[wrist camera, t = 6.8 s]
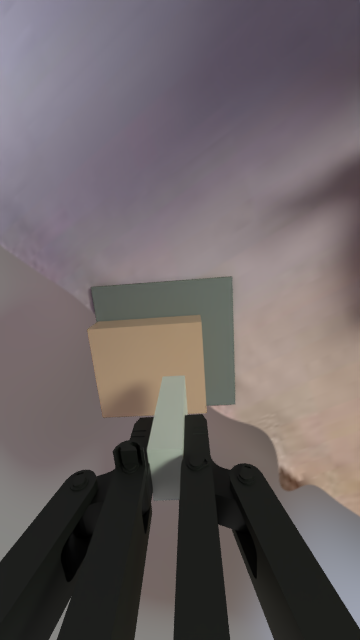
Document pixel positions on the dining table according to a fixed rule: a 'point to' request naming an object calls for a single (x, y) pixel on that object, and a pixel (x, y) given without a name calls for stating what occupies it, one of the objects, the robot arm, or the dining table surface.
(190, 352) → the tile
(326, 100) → the dining table surface
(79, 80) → the dining table surface
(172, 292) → the mat
